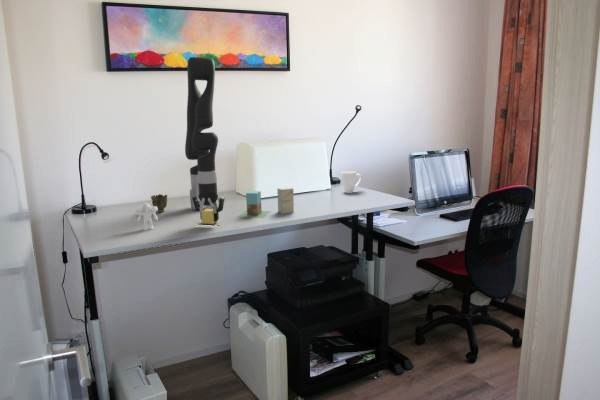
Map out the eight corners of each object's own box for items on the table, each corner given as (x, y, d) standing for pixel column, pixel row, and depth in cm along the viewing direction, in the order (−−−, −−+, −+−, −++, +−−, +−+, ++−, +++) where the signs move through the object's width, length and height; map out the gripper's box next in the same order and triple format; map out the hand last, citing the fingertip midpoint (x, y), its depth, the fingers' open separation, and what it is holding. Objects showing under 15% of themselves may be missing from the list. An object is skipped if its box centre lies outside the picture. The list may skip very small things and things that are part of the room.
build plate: (237, 219, 208) (236, 216, 208) (246, 212, 220) (246, 210, 219) (262, 220, 205) (262, 217, 205) (271, 213, 217) (271, 211, 216)
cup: (171, 210, 227) (170, 194, 226) (161, 214, 221) (159, 197, 219) (159, 209, 230) (158, 193, 229) (149, 213, 224) (147, 196, 222)
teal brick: (246, 204, 209) (246, 193, 208) (250, 201, 214) (250, 190, 213) (257, 204, 208) (256, 193, 207) (260, 202, 213) (260, 191, 212)
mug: (346, 194, 254) (346, 173, 252) (338, 192, 262) (338, 171, 259) (365, 192, 259) (365, 171, 257) (357, 189, 266) (357, 169, 264)
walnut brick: (247, 215, 211) (246, 204, 209) (251, 212, 215) (250, 201, 214) (257, 215, 209) (257, 204, 208) (261, 212, 214) (261, 202, 213)
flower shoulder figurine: (159, 226, 200) (156, 198, 197) (160, 228, 196) (157, 200, 194) (136, 229, 196) (133, 201, 194) (137, 231, 193) (134, 202, 190)
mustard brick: (201, 223, 197) (200, 211, 196) (207, 220, 202) (206, 208, 201) (212, 223, 196) (211, 212, 195) (217, 220, 200) (217, 209, 199)
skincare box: (281, 216, 212) (281, 189, 209) (277, 214, 215) (276, 188, 213) (294, 214, 214) (293, 188, 212) (290, 212, 218) (289, 186, 216)
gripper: (187, 182, 193) (190, 222, 197) (219, 183, 189) (221, 224, 193) (195, 179, 200) (198, 217, 204) (227, 180, 196) (229, 219, 200)
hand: (209, 220), depth 199 cm, fingers closed on mustard brick, 5 cm apart
